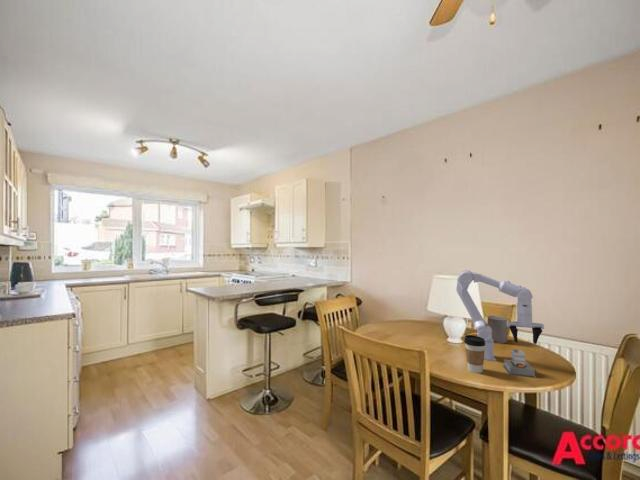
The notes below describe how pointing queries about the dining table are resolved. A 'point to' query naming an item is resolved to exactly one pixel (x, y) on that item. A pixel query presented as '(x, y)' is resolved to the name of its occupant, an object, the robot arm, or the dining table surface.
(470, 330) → the dining table surface
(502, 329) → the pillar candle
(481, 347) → the coffee cup
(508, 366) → the stand base
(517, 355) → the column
